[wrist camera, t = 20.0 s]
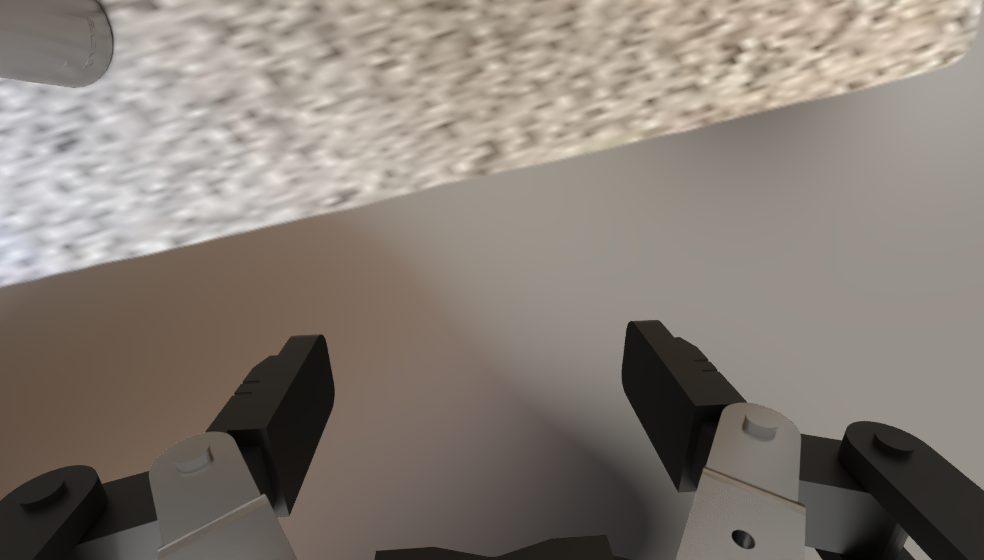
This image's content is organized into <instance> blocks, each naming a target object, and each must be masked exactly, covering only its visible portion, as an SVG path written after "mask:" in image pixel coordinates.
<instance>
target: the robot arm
mask: <svg viewBox="0 0 984 560" xmlns="http://www.w3.org/2000/svg"><path fill="white" fill-rule="evenodd" d="M111 55H112V36H111V31H110V26H109V24H108V21H107V18H106V16H105V14H104V12H103V10H102V9H101V7H100V5H99V4H98V2H97V1H96V0H0V78H7V79H14V80H21V81H27V82H35V83H43V84H50V85H58V86H66V87H73V88H75V87H84V86H87V85H90V84H92V83H94V82H95V81H97V80H98V79H99V78H100V77H101V76H102V75H103V74H104V72H105V71H106V70H107V67H108V65H109V63H110V60H111ZM622 384H623V388H624V392H625V394H626V396H627V398H628V400H629V402H630V403H631V405H632V407H633V409H634V411H635V413H636V415H637V416H638V418H639V420H640V422H641V424H642V426H643V428H644V429H645V431H646V433H647V435H648V437H649V439H650V441H651V443H652V444H653V446H654V448H655V450H656V452H657V454H658V455H659V457H660V459H661V461H662V463H663V465H664V467H665V469H666V471H667V472H668V474H669V476H670V478H671V480H672V481H673V484H674V485H675V487H676V489H677V491H678V492H692V491H696V495H695V498H694V501H693V505H692V508H691V511H690V515H689V518H688V521H687V525H686V528H685V531H684V535H683V538H682V541H681V545H680V548H679V551H678V554H677V558H676V560H804V549H805V546H808V547H813V548H815V549H816V551H817V552H818V554H819V555H820V557H821V558H822V559H823V560H915V559H914V558H913V557H912V556H911V554H910V553H909V552H908V551H907V550H906V549H905V548H904V547H903V546H904V544H905V542H906V539H907V537H908V536H910V537H911V538H912V539H913V540H914V541H915V542H916V543H917V544H918V545H919V546H920V548H921V549H922V550H923V551H924V552H925V553H926V554H927V555H928V556H929V557H930V558H931V559H932V560H984V491H983V490H982V489H981V488H980V487H979V486H977V485H976V484H975V483H973V481H971V480H970V479H969V478H967V477H966V476H965V475H964V474H963V473H961V472H960V471H959V470H958V469H957V468H955V467H954V466H953V465H952V464H951V463H949V462H948V461H947V460H946V459H944V458H943V457H942V456H941V455H940V454H938V453H937V452H936V451H935V450H933V449H932V448H931V447H929V446H928V445H927V444H926V443H924V442H923V441H922V440H920V439H918V438H917V437H915V436H913V435H911V434H909V433H907V432H905V431H903V430H901V429H898V428H895V427H893V426H889V425H886V424H882V423H877V422H869V421H860V422H854V423H852V424H850V425H849V426H848V427H847V429H846V431H845V434H844V437H843V439H842V441H841V440H835V439H829V438H823V437H817V436H811V435H805V434H800V432H799V430H798V428H797V427H796V425H795V424H794V423H793V422H792V421H790V420H789V419H788V418H787V417H785V416H784V415H782V414H781V413H779V412H777V411H775V410H773V409H770V408H768V407H765V406H762V405H758V404H752V403H747V402H746V400H744V398H743V397H742V396H741V395H740V394H739V393H738V392H737V391H736V389H735V388H734V387H733V386H732V385H731V384H730V383H729V382H728V381H727V380H726V378H725V377H724V376H723V375H722V374H721V373H720V372H717V369H716V367H715V366H714V365H713V364H712V363H711V362H708V359H707V358H706V356H705V355H704V354H703V353H702V352H701V351H700V350H699V349H698V348H697V347H696V346H694V345H692V344H691V343H689V342H687V341H686V340H684V339H682V338H680V337H677V338H674V337H673V336H672V335H671V333H670V332H669V331H668V330H667V329H666V327H665V326H664V325H663V324H662V323H661V322H660V321H659V320H648V321H630V322H629V323H628V326H627V329H626V337H625V346H624V355H623V363H622ZM334 396H335V389H334V381H333V375H332V370H331V365H330V359H329V354H328V348H327V343H326V339H325V337H324V336H323V335H321V334H319V335H297V336H291V337H290V338H289V340H288V341H287V343H286V344H285V346H284V347H283V348H282V350H281V351H280V353H279V354H278V355H277V356H269V357H268V358H266V359H265V360H263V361H262V362H261V363H259V364H258V365H256V366H255V367H254V368H253V369H252V370H251V371H250V373H249V374H248V375H247V377H246V378H245V379H244V381H243V384H241V385H240V386H239V388H238V389H237V390H236V391H235V395H234V396H232V397H231V398H230V400H229V401H228V402H227V404H226V405H225V406H224V408H223V409H222V410H221V412H220V413H219V414H218V416H217V417H216V419H215V420H214V421H213V422H212V424H211V425H210V427H209V428H208V429H207V430H206V432H205V433H201V434H197V435H194V436H191V437H189V438H186V439H184V440H182V441H179V442H178V443H176V444H174V445H172V446H171V447H169V448H168V449H167V450H165V451H164V452H163V453H162V454H161V455H160V456H159V457H158V458H157V459H156V460H155V461H154V462H153V464H152V466H151V468H150V470H149V471H148V472H144V473H141V474H137V475H133V476H129V477H126V478H122V479H118V480H115V481H111V482H108V483H104V484H102V483H101V481H100V479H99V477H98V474H97V472H96V471H95V469H93V468H92V467H89V466H84V465H76V466H68V467H64V468H59V469H56V470H53V471H50V472H47V473H45V474H42V475H40V476H38V477H36V478H34V479H32V480H30V481H28V482H26V483H24V484H23V485H21V486H20V487H18V488H16V489H15V490H13V491H12V492H11V493H9V494H8V495H6V496H5V497H4V498H3V499H2V500H1V501H0V560H297V558H296V556H295V554H294V551H293V549H292V548H291V546H290V543H289V541H288V539H287V537H286V535H285V533H284V531H283V529H282V527H281V525H280V523H279V521H278V519H277V517H286V516H290V513H291V511H292V508H293V506H294V503H295V501H296V498H297V496H298V493H299V491H300V488H301V486H302V483H303V481H304V478H305V476H306V473H307V471H308V468H309V466H310V463H311V461H312V458H313V456H314V453H315V451H316V448H317V446H318V443H319V441H320V438H321V436H322V433H323V431H324V428H325V426H326V423H327V421H328V418H329V416H330V413H331V411H332V408H333V404H334ZM375 560H631V559H628V558H624V557H621V556H616V555H613V553H612V550H611V548H610V544H609V541H608V538H607V535H600V536H584V537H570V538H556V539H549V540H546V541H543V542H540V543H537V544H534V545H531V546H528V547H525V548H522V549H519V550H516V551H513V552H510V553H507V554H504V555H501V556H498V557H486V556H481V555H475V554H469V553H464V552H458V551H453V550H448V549H442V548H437V547H426V548H412V549H398V550H383V551H376V555H375Z"/></svg>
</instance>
